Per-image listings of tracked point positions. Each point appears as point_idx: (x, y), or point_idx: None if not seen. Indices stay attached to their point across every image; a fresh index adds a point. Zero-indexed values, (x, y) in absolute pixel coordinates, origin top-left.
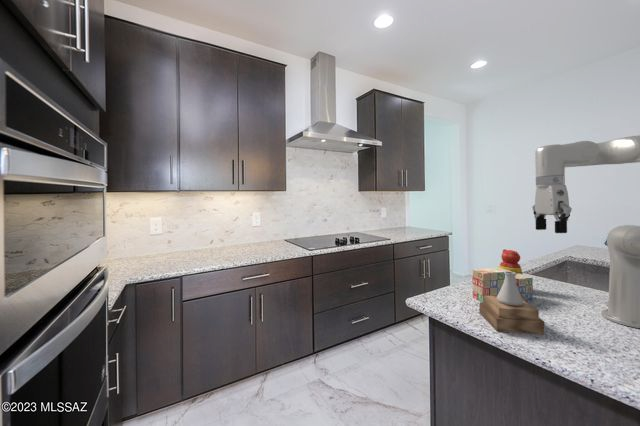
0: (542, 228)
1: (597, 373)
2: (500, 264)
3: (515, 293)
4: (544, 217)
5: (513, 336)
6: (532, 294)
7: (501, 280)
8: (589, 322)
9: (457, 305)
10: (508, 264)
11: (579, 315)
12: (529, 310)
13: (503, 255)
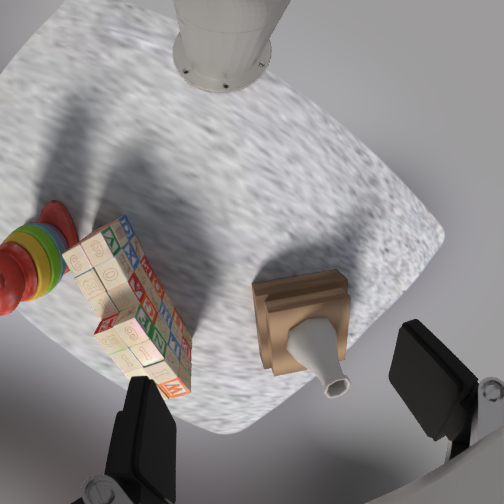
0: (162, 405)
1: (423, 248)
2: (21, 300)
3: (337, 348)
4: (125, 491)
5: None
6: (120, 218)
7: (161, 332)
8: (255, 143)
9: (226, 381)
10: (29, 287)
11: (213, 142)
12: (348, 312)
13: (8, 313)
